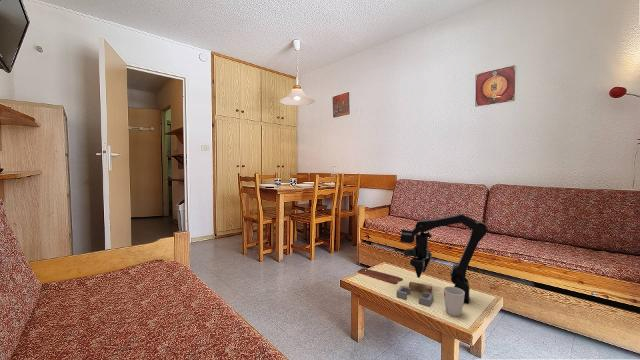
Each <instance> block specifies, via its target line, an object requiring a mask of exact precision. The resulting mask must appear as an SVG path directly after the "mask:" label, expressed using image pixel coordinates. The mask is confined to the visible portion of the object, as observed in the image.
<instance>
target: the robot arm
mask: <svg viewBox="0 0 640 360" xmlns="http://www.w3.org/2000/svg"><path fill="white" fill-rule="evenodd" d="M456 224H462V225H464V226H465V227H467V228H469V229H470V234H469V239H468V241H467V243H466V245H465V248H464V250H463V252H462V254H461V257H460V259H459V261H458V263H457V264H454V263H453V264H452V268H451V269H450V271H449V274H450V275H449V276H450V280H451V282H452V283H453V284H454V286H453V287H456V288H459V289H462V290H463V291H464V292H465V295H464V303H465V304H469V303H470V299H471V297H470V291H471V290H470V289H471V288H470V284H469V280H468V279H467V277H466V276H467V270H468V266H469V264H470V263H471V260H472V258H473V255H474V253H475V252H476V249H477V246H478V244H479V243H480V242H481V241H482V240H483V238H484V237H485V236H486V234H487V233H488V227H487V225H486V223H484V222H483V221H481V220H475V219H474V218H472V217H469V216H468V215H465V214H463V213H458V214H453V215H448V216H445V217H439V218H434V219H433V218H432V219H430V218H426V219H419V220H417V222H416V224H415V227H414V228H413V229H412V230H410V229H405V228H404V229H403V228H402V229H401V233H400V238H399V240H400V242H401V243H403V244H404V243H406V244H413V243H415V245H414V247H410V248H405V249H404V250H403V255H405V257H406V258H408V257H412V256H413V258H411V259H410V260H409V264H410V265H411V267H413V268H414V270H415V274H416V277H417V279H418V278H419V279H420V277H421V276H422V273H425V272H426V270H427V268H428V266H429V263H430V262H431V260H432V256H433V253H432V252H431V251H429V247H430V246H428V245H429V244H428V243H429V239H428V238H432V236H433V234H432V233H430V231H431V230H434V229H435V228H441V227H446V226H449V225H450V226H451V225H456ZM464 303H463V304H464Z"/></svg>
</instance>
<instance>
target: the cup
mask: <svg viewBox="0 0 640 360" xmlns="http://www.w3.org/2000/svg"><path fill="white" fill-rule="evenodd" d="M464 295H465V292H464V291H463V290H462V289H459V288H456V287H454V286H444V287H443V299H444V305H445V309H446V312H447V314H448V315H450V316H453V317H460V315H461V312H462V311H463V306H464Z"/></svg>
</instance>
